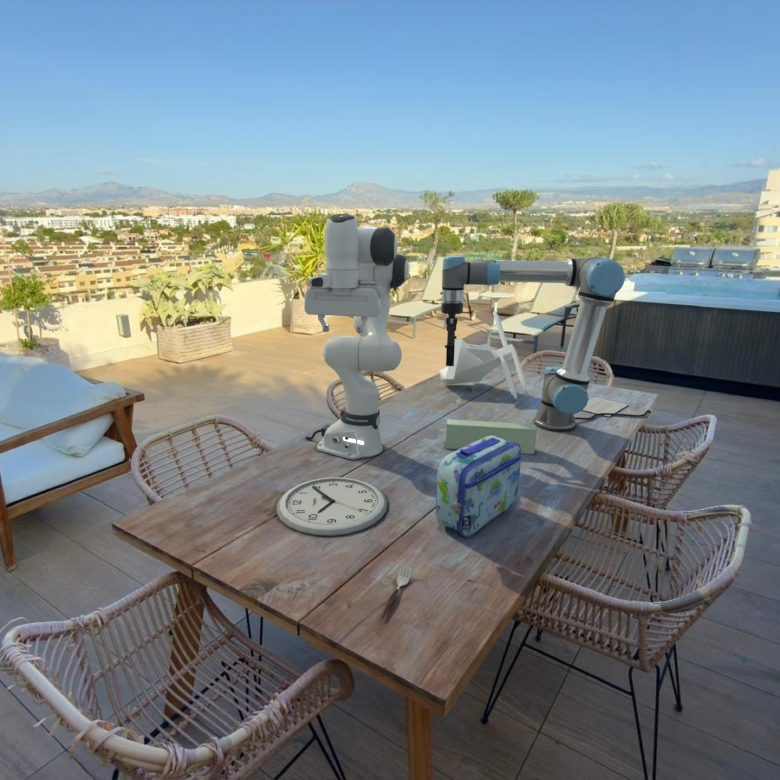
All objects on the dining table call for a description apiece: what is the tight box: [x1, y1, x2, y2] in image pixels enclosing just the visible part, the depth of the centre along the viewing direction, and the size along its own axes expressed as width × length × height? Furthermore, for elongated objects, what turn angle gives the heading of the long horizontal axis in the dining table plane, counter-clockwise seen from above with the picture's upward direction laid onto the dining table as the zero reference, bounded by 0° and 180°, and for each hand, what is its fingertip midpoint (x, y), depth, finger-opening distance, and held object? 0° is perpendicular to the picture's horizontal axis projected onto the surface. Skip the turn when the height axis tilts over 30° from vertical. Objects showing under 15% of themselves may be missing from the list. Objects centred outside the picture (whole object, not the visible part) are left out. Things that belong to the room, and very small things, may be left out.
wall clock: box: [276, 476, 388, 537], centre depth 142 cm, size 30×2×30 cm
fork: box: [381, 564, 413, 619], centre depth 108 cm, size 3×16×2 cm, turn 160°
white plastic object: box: [438, 310, 531, 400], centre depth 245 cm, size 37×45×31 cm
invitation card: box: [582, 396, 629, 418], centre depth 226 cm, size 21×1×15 cm
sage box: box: [445, 418, 538, 455], centre depth 180 cm, size 30×5×9 cm, turn 83°
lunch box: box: [435, 436, 522, 538], centre depth 134 cm, size 26×11×21 cm, turn 134°
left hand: (343, 332), depth 141 cm, fingers open, 8 cm apart
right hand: (450, 361), depth 188 cm, fingers open, 13 cm apart
